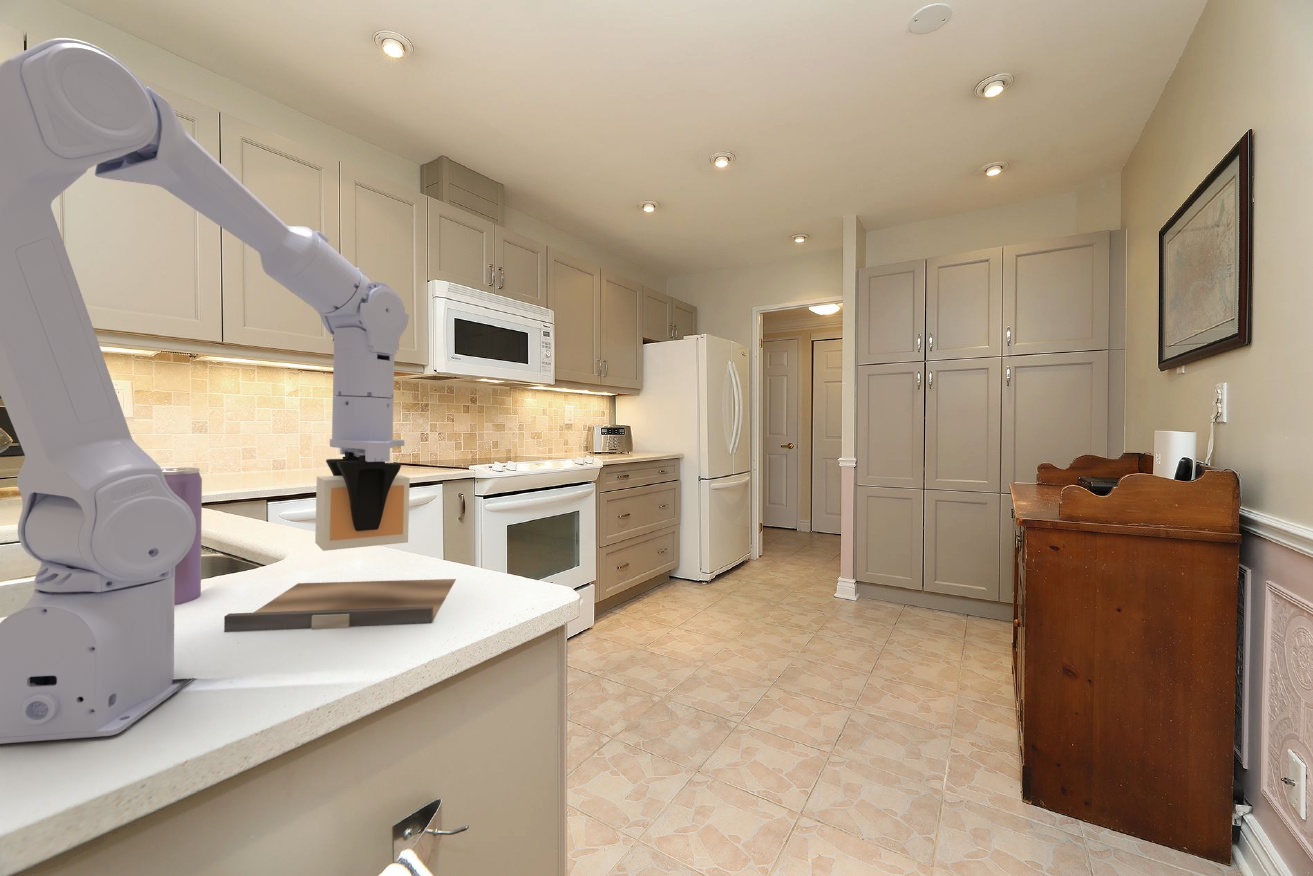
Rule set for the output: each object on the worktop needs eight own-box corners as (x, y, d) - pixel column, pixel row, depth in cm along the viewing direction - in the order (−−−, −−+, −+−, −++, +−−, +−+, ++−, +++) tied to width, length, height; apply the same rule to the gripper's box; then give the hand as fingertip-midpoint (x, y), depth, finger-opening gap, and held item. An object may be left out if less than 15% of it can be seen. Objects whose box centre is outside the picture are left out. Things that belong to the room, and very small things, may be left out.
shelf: (430, 634, 55) (431, 609, 55) (222, 643, 51) (222, 617, 51) (455, 586, 71) (456, 567, 71) (298, 591, 67) (298, 571, 67)
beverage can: (214, 601, 63) (216, 468, 63) (163, 619, 57) (164, 472, 57) (166, 598, 64) (167, 466, 63) (110, 616, 58) (111, 470, 57)
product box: (408, 542, 61) (410, 477, 61) (323, 551, 56) (324, 480, 55) (396, 535, 64) (397, 474, 64) (315, 542, 59) (316, 476, 59)
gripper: (423, 398, 56) (420, 533, 57) (387, 401, 68) (385, 514, 68) (343, 394, 52) (341, 540, 52) (320, 398, 63) (317, 518, 64)
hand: (361, 526), depth 60 cm, fingers closed on product box, 5 cm apart
